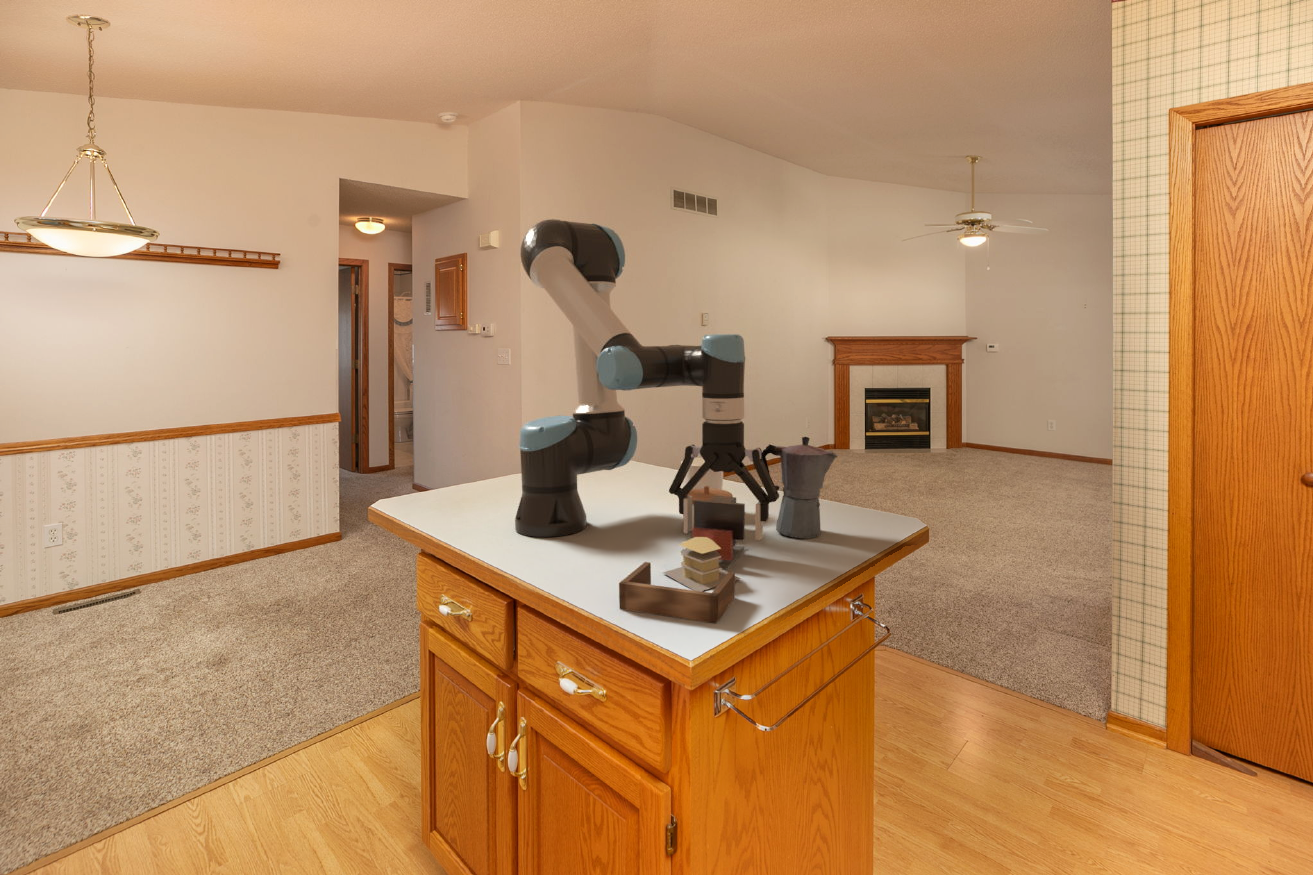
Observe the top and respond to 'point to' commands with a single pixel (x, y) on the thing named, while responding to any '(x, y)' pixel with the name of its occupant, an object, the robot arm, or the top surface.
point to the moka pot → (800, 487)
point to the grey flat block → (727, 563)
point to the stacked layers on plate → (699, 565)
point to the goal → (674, 597)
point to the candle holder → (708, 479)
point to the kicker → (720, 523)
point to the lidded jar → (705, 496)
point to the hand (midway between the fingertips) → (722, 534)
